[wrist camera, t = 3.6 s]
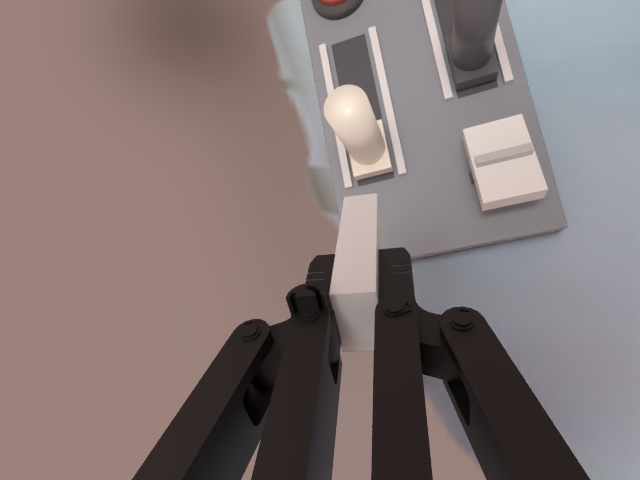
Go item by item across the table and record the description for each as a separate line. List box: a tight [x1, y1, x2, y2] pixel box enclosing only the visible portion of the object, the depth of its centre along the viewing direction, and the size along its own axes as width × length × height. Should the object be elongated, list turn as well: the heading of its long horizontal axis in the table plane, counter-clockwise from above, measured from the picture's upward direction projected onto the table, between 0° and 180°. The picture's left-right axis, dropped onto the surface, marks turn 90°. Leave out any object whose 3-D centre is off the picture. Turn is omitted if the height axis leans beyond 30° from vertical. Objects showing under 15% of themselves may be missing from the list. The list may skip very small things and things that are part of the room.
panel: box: [301, 0, 567, 260], centre depth 33 cm, size 28×16×5 cm, turn 10°
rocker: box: [463, 114, 548, 211], centre depth 28 cm, size 6×4×2 cm, turn 10°
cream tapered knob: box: [324, 85, 393, 180], centre depth 29 cm, size 4×3×9 cm
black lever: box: [445, 0, 503, 91], centre depth 27 cm, size 4×3×9 cm
